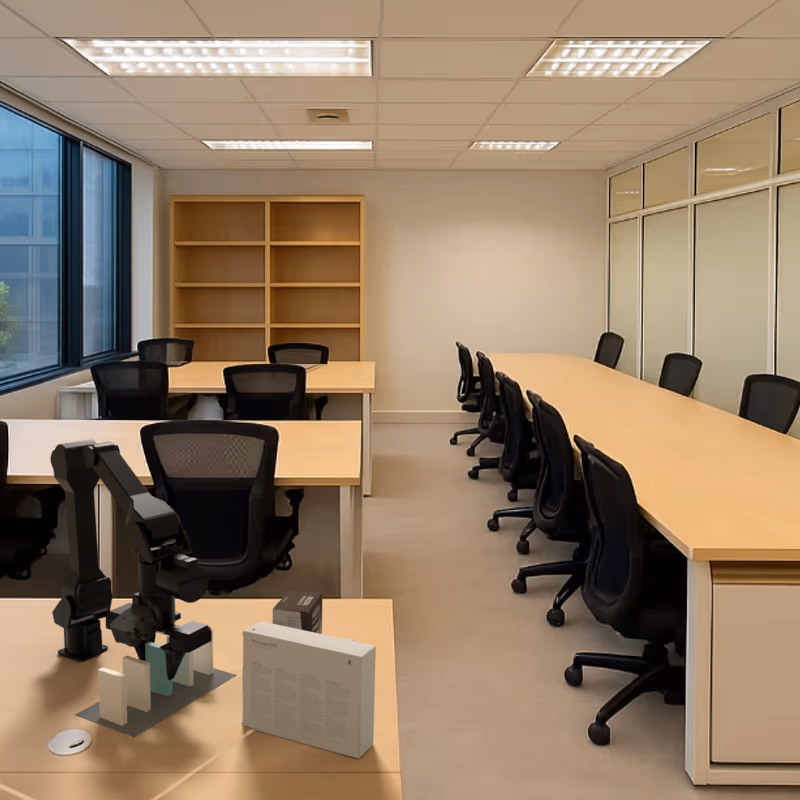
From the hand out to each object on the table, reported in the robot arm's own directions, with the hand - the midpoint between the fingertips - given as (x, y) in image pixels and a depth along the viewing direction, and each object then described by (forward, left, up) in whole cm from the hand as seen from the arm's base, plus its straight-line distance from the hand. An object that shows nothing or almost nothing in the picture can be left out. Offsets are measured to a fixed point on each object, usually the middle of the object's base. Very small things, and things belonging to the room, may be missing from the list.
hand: (159, 675), depth 148 cm
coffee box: (+18, +14, -4) cm, 23 cm away
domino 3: (0, +5, -3) cm, 6 cm away
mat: (0, 0, -4) cm, 4 cm away
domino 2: (0, -5, -3) cm, 6 cm away
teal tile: (0, 0, -3) cm, 3 cm away
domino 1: (0, -10, -3) cm, 11 cm away
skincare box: (+28, +3, -4) cm, 28 cm away
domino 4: (0, +10, -3) cm, 11 cm away
